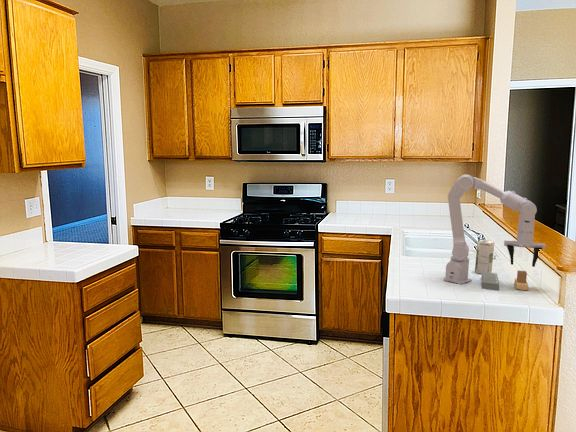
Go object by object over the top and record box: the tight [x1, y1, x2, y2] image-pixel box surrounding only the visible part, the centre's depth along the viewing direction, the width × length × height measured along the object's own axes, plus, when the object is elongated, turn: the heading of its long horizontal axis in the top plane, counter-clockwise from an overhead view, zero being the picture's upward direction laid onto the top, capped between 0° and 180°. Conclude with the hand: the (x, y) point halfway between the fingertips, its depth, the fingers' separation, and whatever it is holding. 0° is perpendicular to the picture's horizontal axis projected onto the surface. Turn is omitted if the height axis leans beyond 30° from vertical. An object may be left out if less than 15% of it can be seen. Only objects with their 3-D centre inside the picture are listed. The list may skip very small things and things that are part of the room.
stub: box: [513, 269, 529, 291], centre depth 187 cm, size 4×10×6 cm, turn 158°
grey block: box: [481, 272, 500, 291], centre depth 192 cm, size 6×18×3 cm, turn 158°
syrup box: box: [474, 239, 495, 275], centre depth 209 cm, size 6×6×14 cm
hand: (522, 265), depth 186 cm, fingers open, 7 cm apart
